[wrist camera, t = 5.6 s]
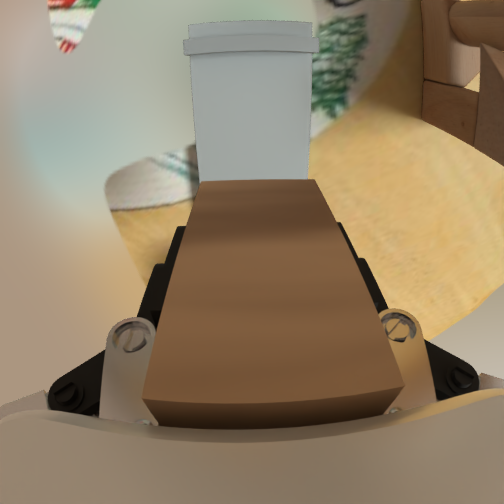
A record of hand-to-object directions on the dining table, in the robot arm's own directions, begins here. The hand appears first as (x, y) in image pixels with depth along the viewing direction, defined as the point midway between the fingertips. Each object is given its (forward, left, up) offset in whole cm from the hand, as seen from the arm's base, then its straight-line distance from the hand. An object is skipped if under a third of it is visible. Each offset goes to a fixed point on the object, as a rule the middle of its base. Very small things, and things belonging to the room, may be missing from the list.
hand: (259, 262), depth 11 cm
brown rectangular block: (0, 0, -1) cm, 1 cm away
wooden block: (-9, +15, -14) cm, 22 cm away
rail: (+5, 0, -14) cm, 15 cm away
